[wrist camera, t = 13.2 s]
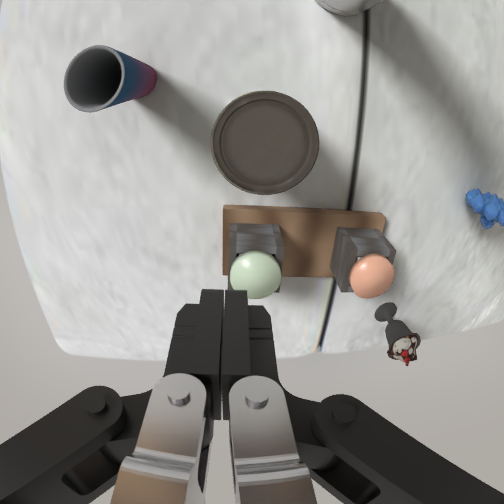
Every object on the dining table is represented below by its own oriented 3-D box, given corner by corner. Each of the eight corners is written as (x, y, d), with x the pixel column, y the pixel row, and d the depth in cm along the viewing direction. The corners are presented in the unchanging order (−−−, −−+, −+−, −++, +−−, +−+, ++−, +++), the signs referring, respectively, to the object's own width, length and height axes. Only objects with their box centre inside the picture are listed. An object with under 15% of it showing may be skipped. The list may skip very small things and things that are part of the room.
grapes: (444, 211, 47) (484, 242, 37) (454, 175, 44) (498, 201, 33) (484, 219, 48) (521, 249, 38) (494, 188, 45) (534, 213, 34)
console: (223, 268, 51) (220, 302, 43) (223, 204, 46) (220, 231, 38) (367, 270, 52) (385, 302, 44) (381, 212, 47) (405, 238, 39)
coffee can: (235, 81, 37) (233, 75, 25) (306, 108, 39) (336, 116, 27) (209, 149, 41) (196, 175, 29) (278, 173, 44) (294, 209, 31)
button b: (333, 269, 48) (347, 298, 41) (341, 232, 45) (357, 258, 38) (370, 270, 48) (387, 297, 42) (379, 234, 45) (399, 259, 38)
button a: (230, 267, 47) (229, 298, 40) (231, 229, 44) (230, 255, 37) (273, 268, 47) (278, 299, 41) (277, 230, 44) (283, 257, 38)
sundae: (371, 302, 56) (400, 359, 43) (402, 296, 56) (435, 349, 43) (368, 327, 59) (393, 383, 46) (397, 320, 59) (426, 373, 46)
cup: (160, 103, 38) (121, 111, 25) (115, 103, 37) (62, 114, 24) (165, 57, 34) (128, 42, 21) (119, 58, 34) (66, 49, 21)
